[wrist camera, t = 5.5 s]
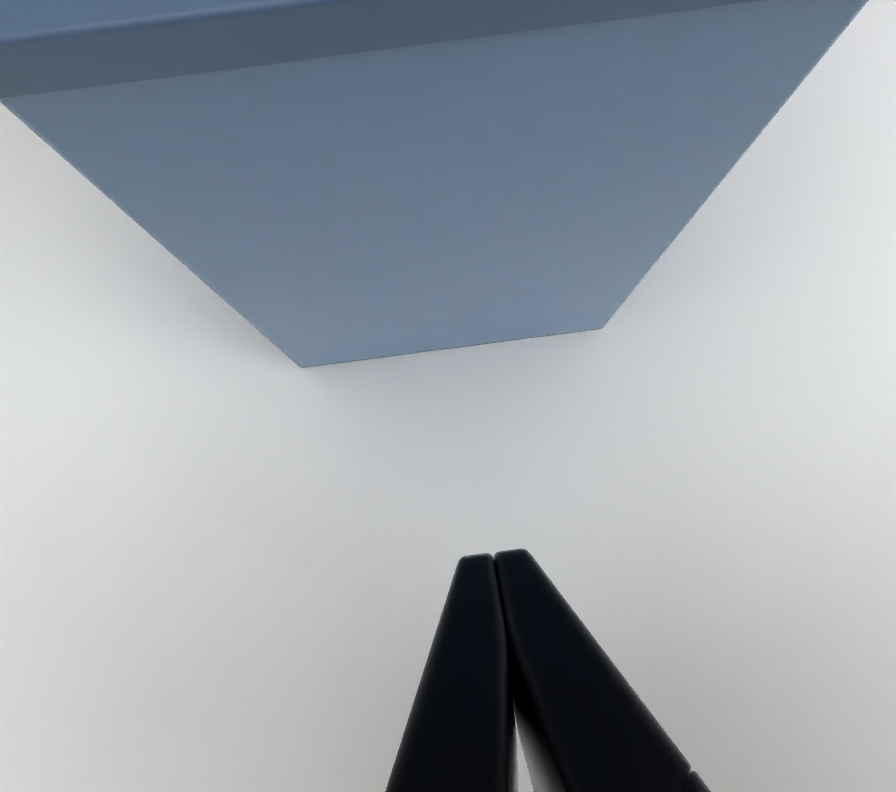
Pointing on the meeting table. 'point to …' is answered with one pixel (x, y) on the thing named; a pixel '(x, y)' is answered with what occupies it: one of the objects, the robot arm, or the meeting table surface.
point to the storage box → (410, 147)
